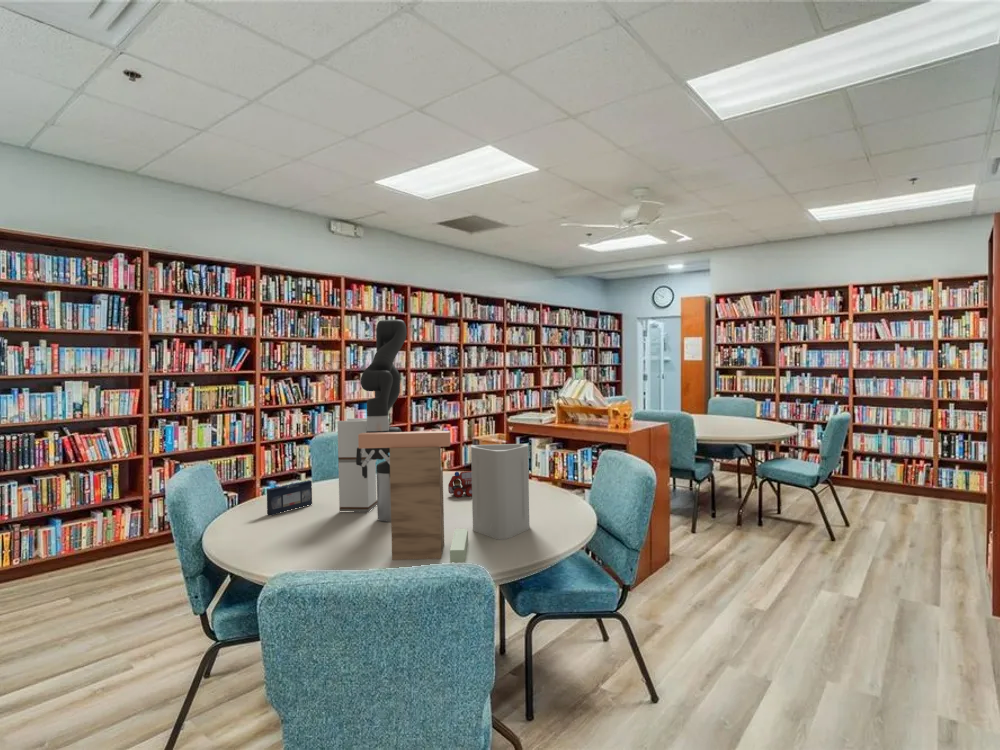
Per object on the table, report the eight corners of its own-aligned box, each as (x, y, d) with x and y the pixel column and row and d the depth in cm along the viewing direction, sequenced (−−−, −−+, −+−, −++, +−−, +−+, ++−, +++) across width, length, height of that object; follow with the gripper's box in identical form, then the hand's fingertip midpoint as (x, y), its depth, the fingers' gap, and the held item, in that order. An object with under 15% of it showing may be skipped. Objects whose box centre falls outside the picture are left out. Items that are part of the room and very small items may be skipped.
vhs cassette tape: (270, 516, 204) (269, 489, 203) (266, 515, 205) (265, 488, 205) (313, 505, 218) (312, 481, 218) (308, 504, 220) (308, 480, 220)
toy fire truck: (447, 494, 232) (446, 470, 232) (475, 492, 235) (474, 468, 235) (449, 498, 226) (449, 473, 225) (478, 496, 229) (478, 471, 228)
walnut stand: (398, 545, 166) (396, 442, 166) (444, 544, 166) (442, 441, 166) (392, 559, 154) (389, 448, 154) (441, 558, 154) (438, 447, 154)
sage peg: (455, 541, 171) (455, 528, 170) (468, 541, 171) (467, 528, 170) (450, 564, 151) (449, 550, 150) (464, 564, 151) (464, 549, 151)
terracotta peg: (361, 446, 158) (361, 432, 158) (450, 444, 159) (450, 430, 159) (358, 448, 154) (358, 434, 154) (449, 446, 155) (449, 432, 155)
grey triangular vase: (471, 540, 170) (470, 451, 170) (473, 526, 185) (471, 445, 185) (532, 538, 171) (530, 450, 170) (528, 524, 186) (527, 443, 185)
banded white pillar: (377, 505, 216) (375, 418, 216) (368, 512, 206) (366, 420, 205) (349, 505, 217) (347, 418, 217) (339, 512, 207) (337, 421, 206)
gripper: (400, 428, 186) (401, 475, 186) (359, 429, 186) (359, 476, 185) (397, 429, 179) (397, 478, 178) (353, 430, 178) (354, 479, 178)
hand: (378, 477), depth 182 cm, fingers open, 8 cm apart
